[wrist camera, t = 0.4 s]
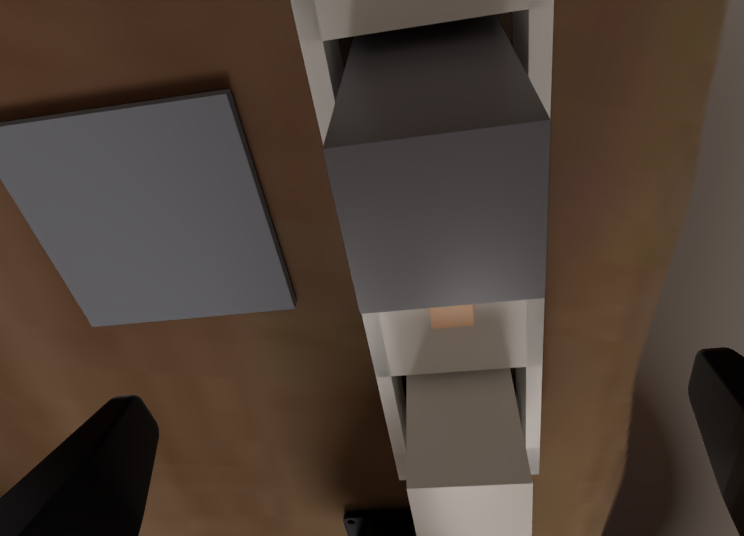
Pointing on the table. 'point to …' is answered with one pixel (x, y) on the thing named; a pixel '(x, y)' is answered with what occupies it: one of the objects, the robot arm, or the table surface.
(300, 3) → the power strip
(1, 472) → the table surface
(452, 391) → the block
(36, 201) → the slate mat
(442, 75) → the grey rectangular block
